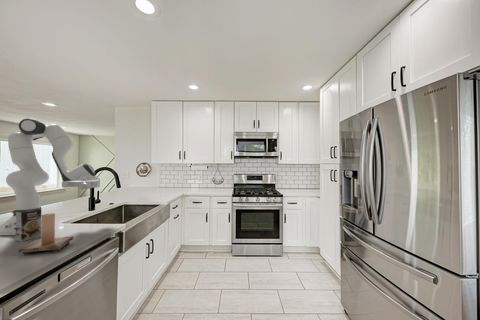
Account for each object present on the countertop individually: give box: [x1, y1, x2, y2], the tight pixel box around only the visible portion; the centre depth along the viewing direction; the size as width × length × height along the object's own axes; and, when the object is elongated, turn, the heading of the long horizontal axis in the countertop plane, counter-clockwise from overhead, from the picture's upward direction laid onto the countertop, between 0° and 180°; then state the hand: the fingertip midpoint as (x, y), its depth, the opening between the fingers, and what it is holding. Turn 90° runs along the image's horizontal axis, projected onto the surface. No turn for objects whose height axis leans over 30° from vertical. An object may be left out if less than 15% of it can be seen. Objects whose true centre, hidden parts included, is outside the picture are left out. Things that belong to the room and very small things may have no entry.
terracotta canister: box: [40, 212, 56, 244], centre depth 108 cm, size 5×5×14 cm
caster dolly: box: [17, 236, 74, 256], centre depth 108 cm, size 16×14×4 cm
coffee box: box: [14, 208, 42, 242], centre depth 124 cm, size 9×6×16 cm
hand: (76, 184), depth 133 cm, fingers open, 8 cm apart
